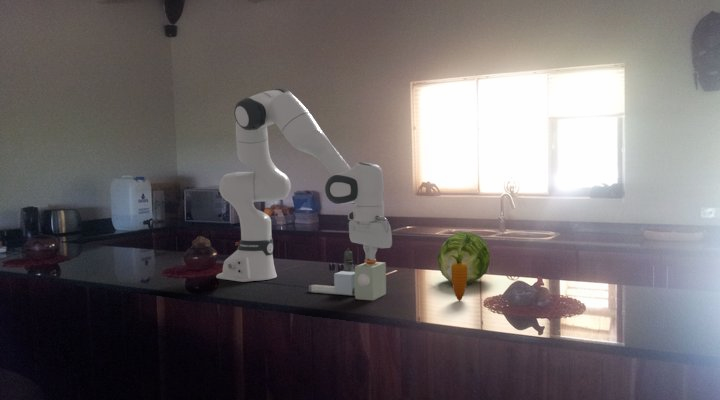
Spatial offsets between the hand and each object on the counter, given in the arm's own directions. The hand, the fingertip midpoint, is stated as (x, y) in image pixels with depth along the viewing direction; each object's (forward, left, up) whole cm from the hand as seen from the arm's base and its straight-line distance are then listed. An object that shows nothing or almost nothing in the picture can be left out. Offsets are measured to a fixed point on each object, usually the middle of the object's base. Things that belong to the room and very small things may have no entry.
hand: (370, 259), depth 184 cm
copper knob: (0, 0, -6) cm, 6 cm away
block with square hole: (0, 0, -12) cm, 12 cm away
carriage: (-9, 0, -12) cm, 14 cm away
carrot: (+27, +4, -12) cm, 30 cm away
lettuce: (+21, +30, -12) cm, 39 cm away
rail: (-12, 0, -12) cm, 16 cm away
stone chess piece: (-17, +19, -12) cm, 28 cm away
